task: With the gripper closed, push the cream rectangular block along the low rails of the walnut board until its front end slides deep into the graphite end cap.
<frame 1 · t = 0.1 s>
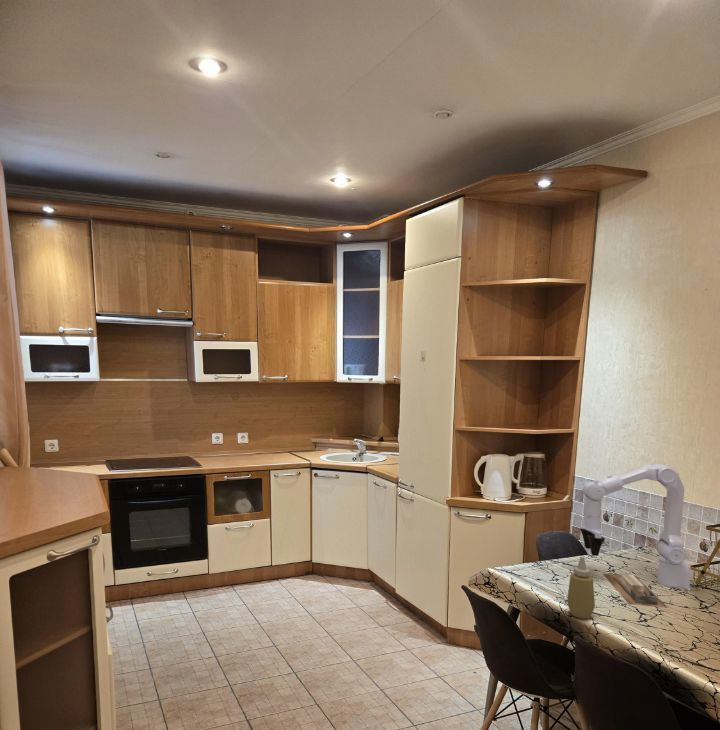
hand: (591, 551, 190), 10 cm above the table, tool pointing down, fingers open, 7 cm apart
cream rectangular block: (631, 588, 180), point 1 cm above the table, touching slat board
squeeze bottle: (580, 615, 159), on the table
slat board: (632, 591, 179), on the table
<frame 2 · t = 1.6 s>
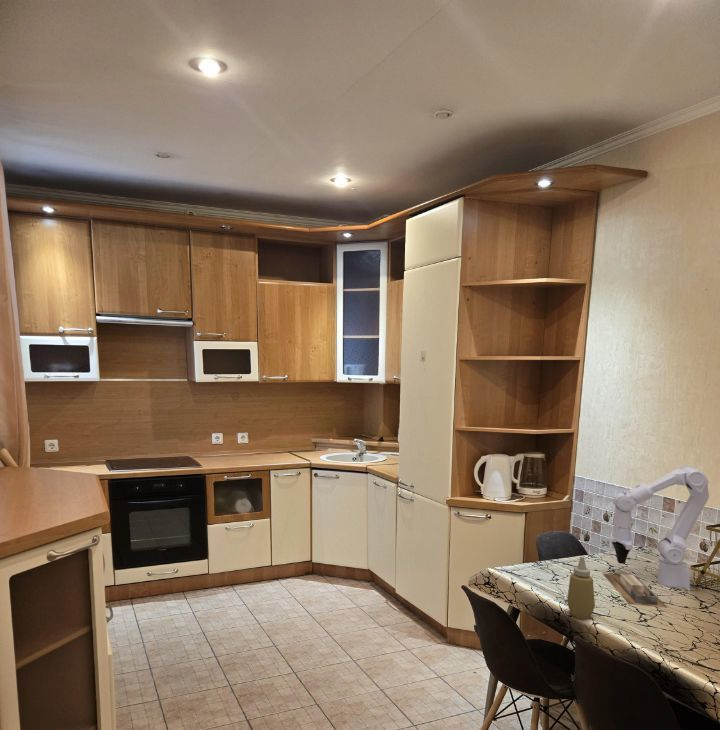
hand: (621, 562, 190), 6 cm above the table, tool pointing down, fingers closed
nothing on the table moved.
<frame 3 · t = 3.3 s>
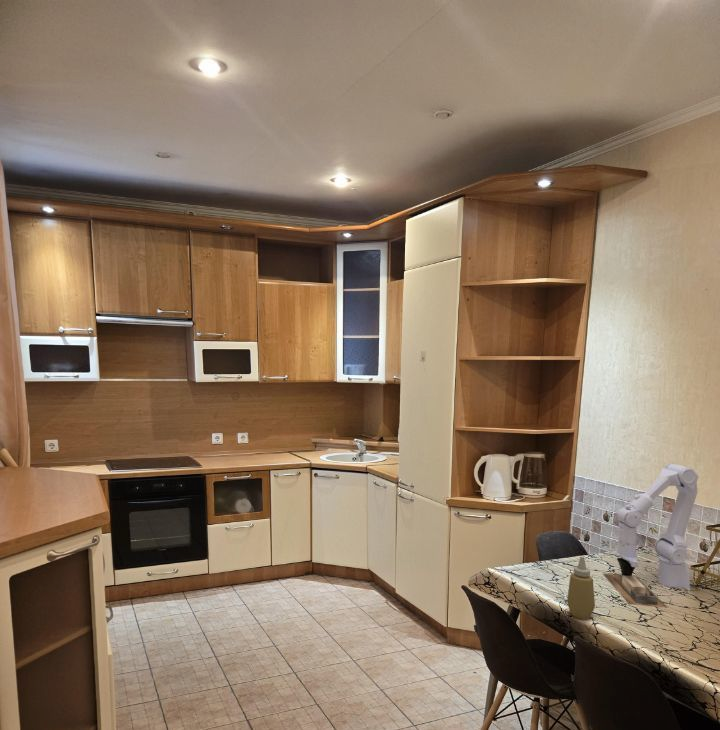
hand: (626, 579, 185), 2 cm above the table, tool pointing down, fingers closed
cream rectangular block: (633, 589, 178), point 1 cm above the table, touching gripper, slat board
everything else where it was.
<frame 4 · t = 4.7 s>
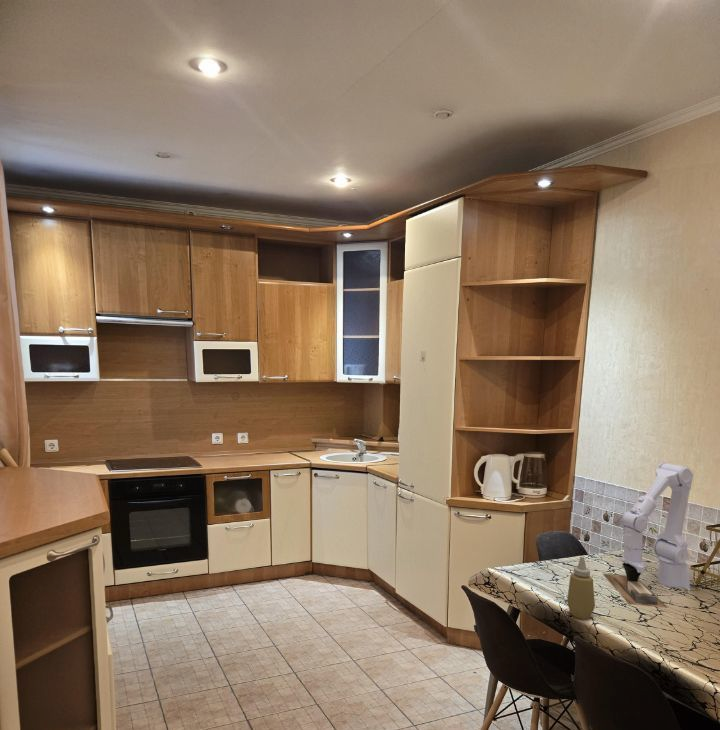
hand: (632, 585, 179), 2 cm above the table, tool pointing down, fingers closed
cream rectangular block: (639, 596, 173), point 1 cm above the table, touching gripper, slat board
everything else where it was.
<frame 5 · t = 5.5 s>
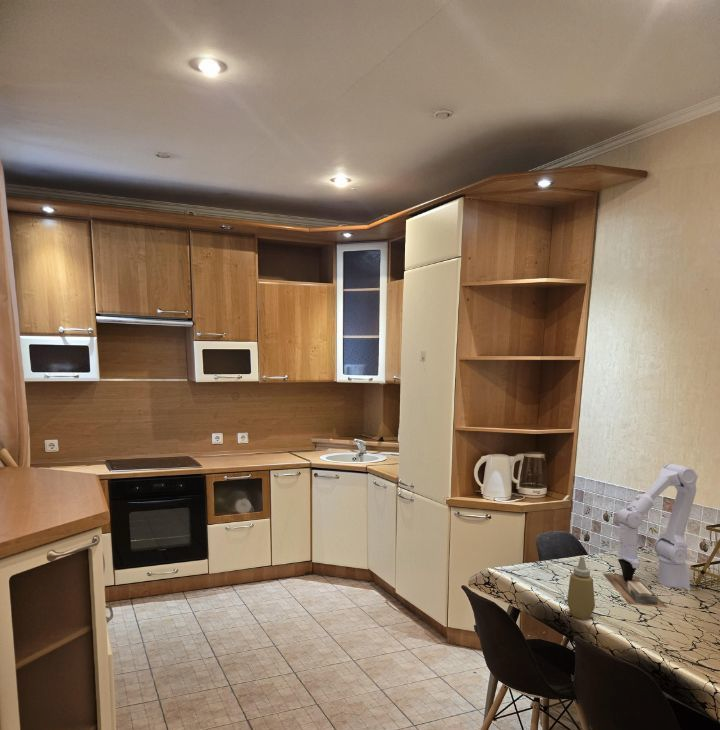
hand: (627, 581, 184), 2 cm above the table, tool pointing down, fingers closed
cream rectangular block: (639, 596, 173), point 1 cm above the table, touching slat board
everything else where it was.
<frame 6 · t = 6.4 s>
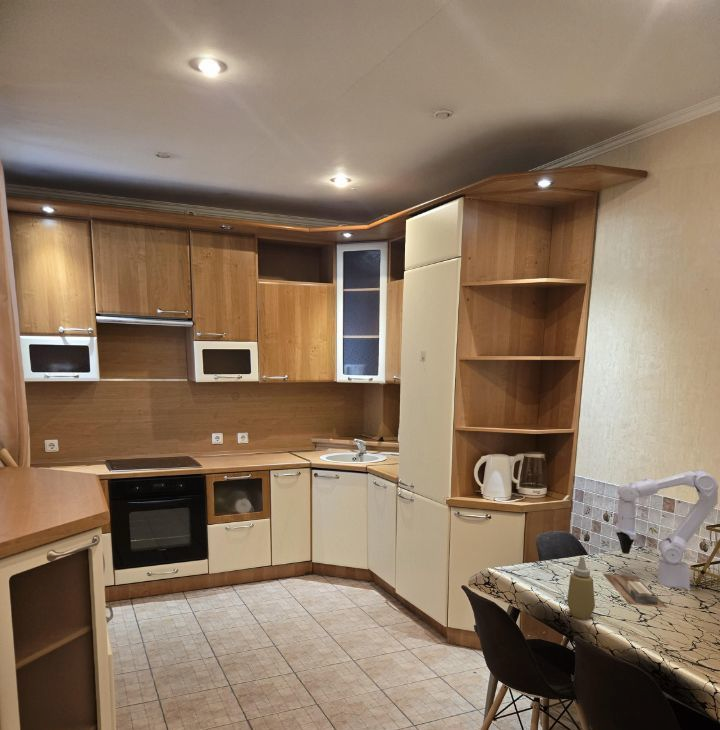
hand: (625, 553, 191), 9 cm above the table, tool pointing down, fingers closed
nothing on the table moved.
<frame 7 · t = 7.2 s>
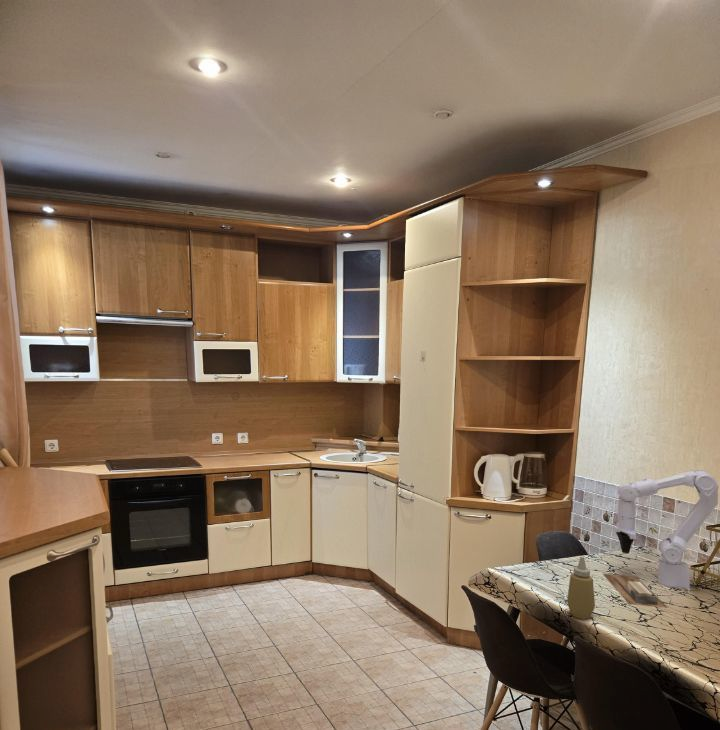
hand: (625, 552, 192), 9 cm above the table, tool pointing down, fingers closed
nothing on the table moved.
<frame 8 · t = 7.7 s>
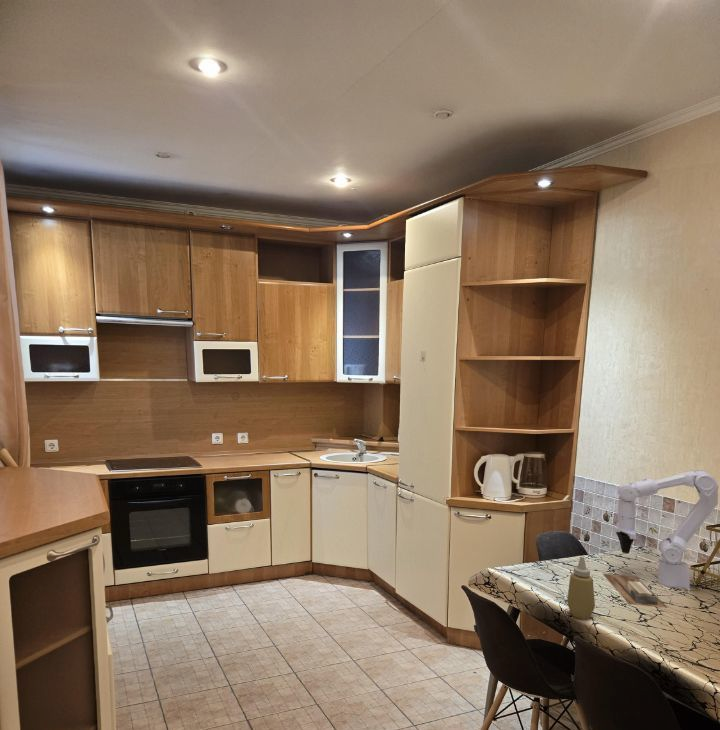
hand: (625, 552, 192), 9 cm above the table, tool pointing down, fingers closed
nothing on the table moved.
at the end: cream rectangular block 0.7 cm from the target spot on the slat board, point 0.8 cm above the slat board's base; cream rectangular block tilted 0°; cream rectangular block moved 6.6 cm from its start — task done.
